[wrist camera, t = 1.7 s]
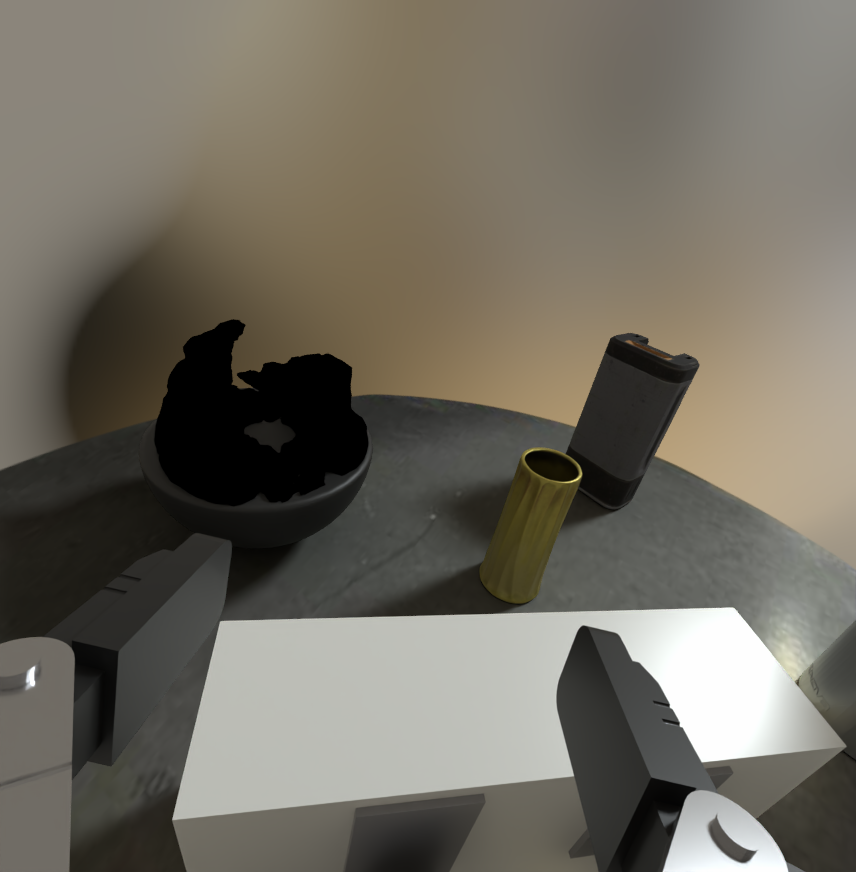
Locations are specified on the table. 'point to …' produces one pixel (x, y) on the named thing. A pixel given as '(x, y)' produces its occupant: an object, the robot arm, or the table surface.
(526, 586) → the vase
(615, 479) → the electronic device
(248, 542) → the coal bowl
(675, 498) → the table surface
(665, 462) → the table surface
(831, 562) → the table surface
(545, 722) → the power box
